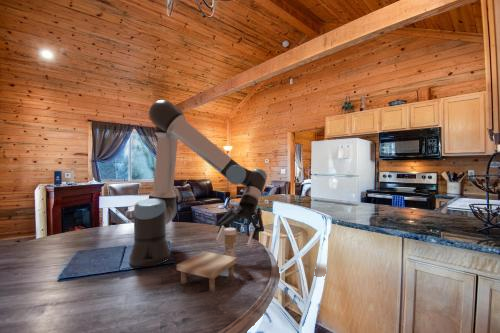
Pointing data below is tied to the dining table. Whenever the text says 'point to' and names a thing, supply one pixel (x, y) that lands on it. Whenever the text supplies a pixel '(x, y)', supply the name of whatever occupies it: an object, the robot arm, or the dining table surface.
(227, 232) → the spice jar
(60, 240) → the dining table surface
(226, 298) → the dining table surface
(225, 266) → the stool
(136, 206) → the robot arm
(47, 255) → the dining table surface
